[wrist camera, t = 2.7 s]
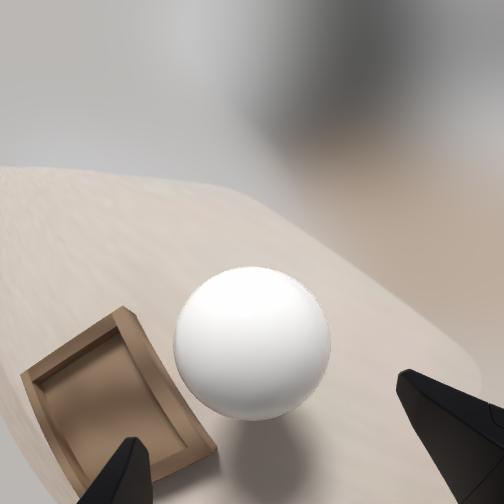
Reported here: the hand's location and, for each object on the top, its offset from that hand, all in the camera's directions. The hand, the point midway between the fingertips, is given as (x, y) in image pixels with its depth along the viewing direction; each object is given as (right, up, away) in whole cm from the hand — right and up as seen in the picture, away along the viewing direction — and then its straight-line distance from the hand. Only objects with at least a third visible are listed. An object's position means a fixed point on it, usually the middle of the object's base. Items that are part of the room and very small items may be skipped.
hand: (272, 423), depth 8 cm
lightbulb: (0, -2, +11) cm, 11 cm away
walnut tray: (-11, -6, +9) cm, 15 cm away
